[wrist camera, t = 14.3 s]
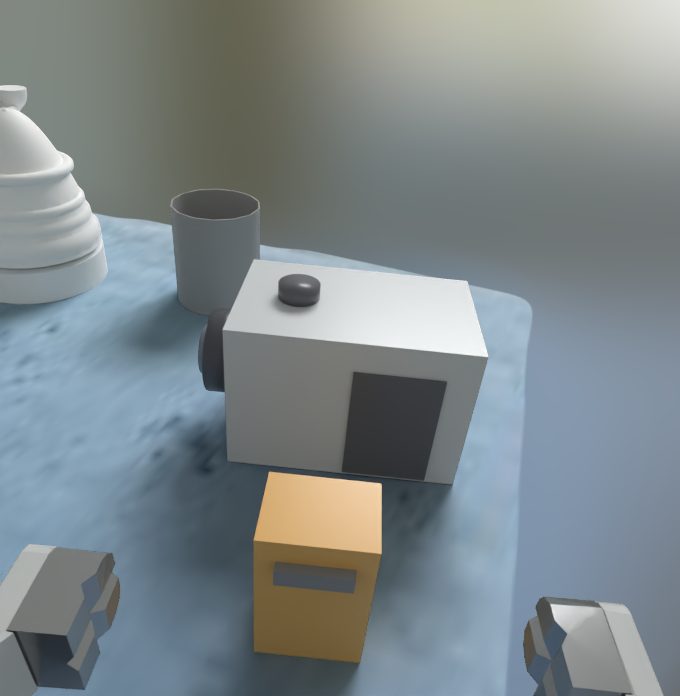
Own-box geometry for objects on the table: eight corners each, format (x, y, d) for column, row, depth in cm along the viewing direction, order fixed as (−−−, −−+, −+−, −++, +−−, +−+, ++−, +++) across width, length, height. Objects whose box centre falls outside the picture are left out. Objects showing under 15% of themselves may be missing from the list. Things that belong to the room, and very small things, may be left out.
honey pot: (7, 245, 65) (-38, 74, 55) (121, 252, 66) (98, 85, 56) (-53, 300, 54) (-123, 100, 44) (85, 307, 55) (47, 113, 45)
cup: (237, 323, 55) (235, 226, 50) (162, 305, 57) (152, 209, 51) (271, 286, 62) (273, 198, 56) (204, 271, 64) (199, 183, 58)
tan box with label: (359, 672, 29) (381, 564, 24) (252, 661, 29) (251, 550, 24) (362, 592, 32) (381, 483, 27) (266, 582, 33) (269, 471, 28)
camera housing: (453, 486, 40) (492, 345, 33) (190, 459, 40) (177, 312, 33) (440, 396, 48) (470, 269, 42) (223, 373, 48) (218, 243, 42)
